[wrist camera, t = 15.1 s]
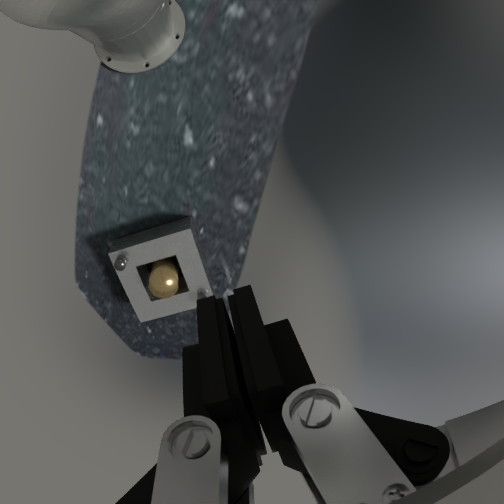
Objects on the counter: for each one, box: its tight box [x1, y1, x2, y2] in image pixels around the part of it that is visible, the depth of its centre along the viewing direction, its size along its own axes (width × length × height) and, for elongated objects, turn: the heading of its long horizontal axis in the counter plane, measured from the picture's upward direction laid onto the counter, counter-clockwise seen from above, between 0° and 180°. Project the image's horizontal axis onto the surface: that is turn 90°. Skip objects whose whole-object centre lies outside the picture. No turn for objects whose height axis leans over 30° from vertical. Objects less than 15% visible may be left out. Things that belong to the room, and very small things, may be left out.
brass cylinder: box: [149, 255, 179, 299], centre depth 46 cm, size 4×4×7 cm
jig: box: [108, 216, 215, 322], centre depth 46 cm, size 12×12×7 cm
